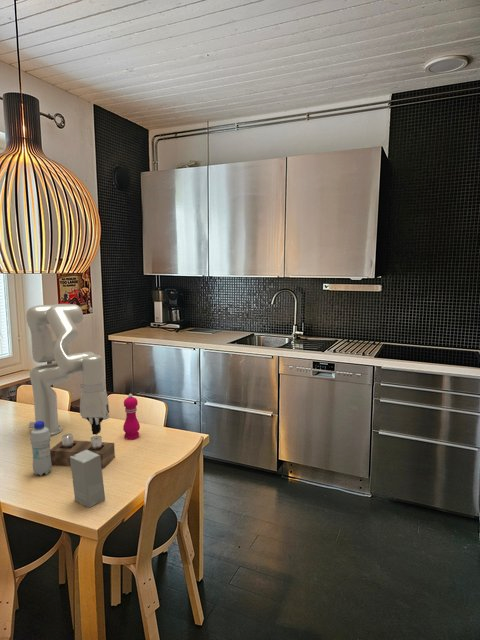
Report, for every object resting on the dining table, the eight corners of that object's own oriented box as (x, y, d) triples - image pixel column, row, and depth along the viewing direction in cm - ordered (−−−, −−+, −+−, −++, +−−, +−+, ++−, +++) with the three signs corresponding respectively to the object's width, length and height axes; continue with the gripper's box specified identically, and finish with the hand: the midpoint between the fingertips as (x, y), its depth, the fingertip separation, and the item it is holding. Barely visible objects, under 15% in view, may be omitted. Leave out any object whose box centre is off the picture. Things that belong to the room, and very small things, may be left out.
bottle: (39, 479, 152) (36, 426, 149) (29, 474, 155) (25, 422, 152) (56, 471, 157) (53, 420, 155) (45, 467, 161) (42, 416, 158)
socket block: (49, 465, 162) (48, 450, 161) (64, 453, 172) (63, 439, 171) (103, 468, 159) (102, 453, 158) (114, 457, 169) (114, 442, 168)
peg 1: (60, 452, 164) (59, 437, 163) (66, 448, 168) (65, 433, 167) (70, 453, 164) (69, 438, 163) (75, 448, 168) (74, 434, 167)
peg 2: (89, 454, 162) (88, 439, 162) (94, 449, 166) (93, 435, 166) (99, 454, 162) (98, 440, 161) (104, 450, 166) (103, 435, 165)
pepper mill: (142, 434, 192) (140, 391, 189) (136, 440, 185) (135, 396, 182) (127, 433, 193) (125, 391, 190) (121, 439, 186) (119, 396, 183)
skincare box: (105, 500, 138) (103, 454, 136) (86, 510, 132) (83, 462, 130) (90, 491, 143) (88, 447, 141) (71, 500, 138) (68, 455, 136)
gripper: (70, 389, 158) (73, 436, 160) (107, 390, 156) (110, 437, 158) (80, 384, 165) (83, 428, 168) (116, 385, 163) (118, 430, 166)
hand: (96, 433), depth 163 cm, fingers closed
